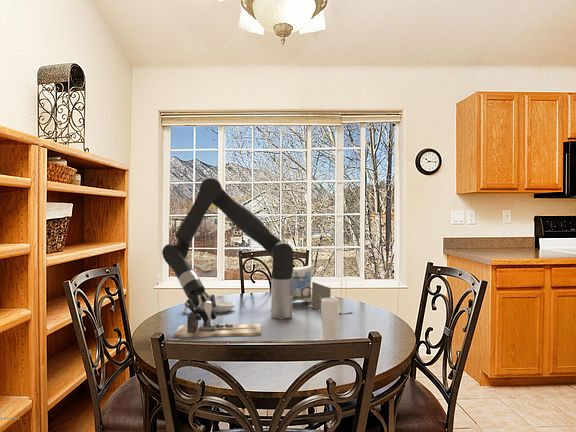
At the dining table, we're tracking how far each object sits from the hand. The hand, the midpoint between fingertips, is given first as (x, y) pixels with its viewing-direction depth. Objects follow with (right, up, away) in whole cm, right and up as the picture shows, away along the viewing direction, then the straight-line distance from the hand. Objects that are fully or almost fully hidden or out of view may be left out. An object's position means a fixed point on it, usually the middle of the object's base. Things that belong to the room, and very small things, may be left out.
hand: (210, 319), depth 151 cm
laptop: (+51, -6, +37) cm, 63 cm away
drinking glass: (+45, -6, -8) cm, 46 cm away
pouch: (+34, -6, +52) cm, 62 cm away
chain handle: (+2, -4, +2) cm, 4 cm away
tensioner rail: (+3, -5, +2) cm, 6 cm away
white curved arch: (-7, -5, +34) cm, 35 cm away
